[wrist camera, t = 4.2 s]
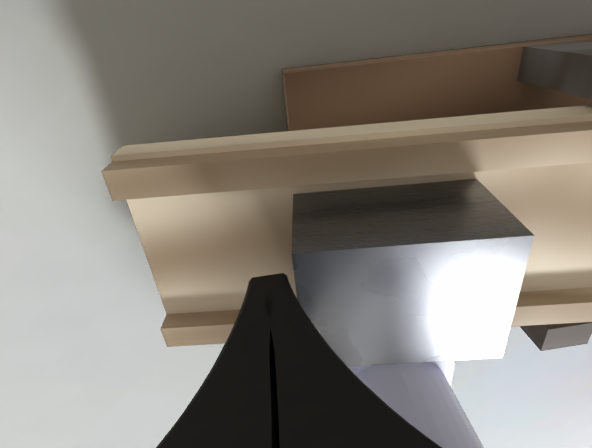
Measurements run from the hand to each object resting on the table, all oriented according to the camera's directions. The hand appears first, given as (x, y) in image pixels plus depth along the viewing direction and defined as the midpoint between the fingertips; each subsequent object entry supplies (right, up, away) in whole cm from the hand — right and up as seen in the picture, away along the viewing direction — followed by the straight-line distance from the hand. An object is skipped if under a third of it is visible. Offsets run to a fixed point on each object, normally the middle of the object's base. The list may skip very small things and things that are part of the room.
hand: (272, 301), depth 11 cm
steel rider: (+4, +2, +2) cm, 5 cm away
